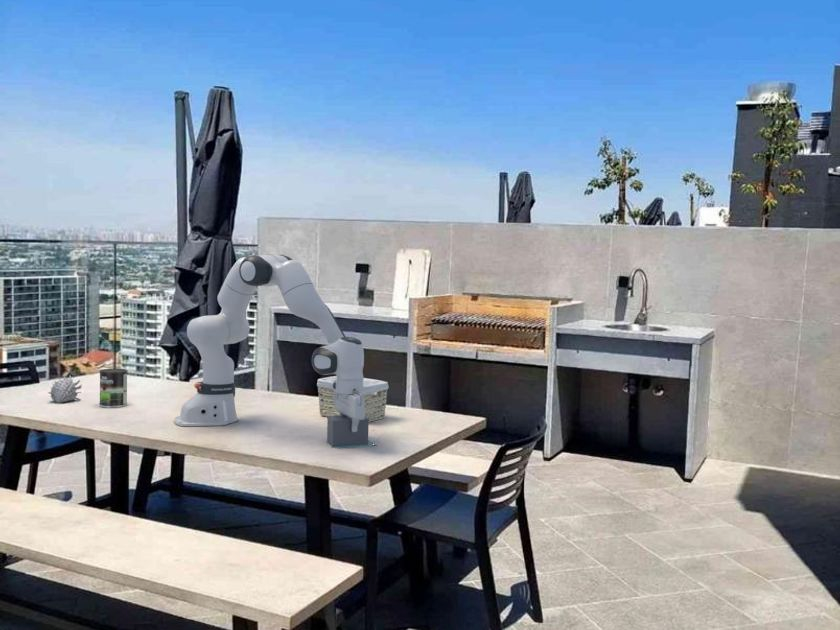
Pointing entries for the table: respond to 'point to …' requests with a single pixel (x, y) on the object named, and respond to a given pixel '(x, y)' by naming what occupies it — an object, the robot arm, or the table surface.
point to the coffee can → (113, 388)
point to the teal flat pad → (356, 445)
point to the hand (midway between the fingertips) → (348, 428)
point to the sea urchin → (64, 390)
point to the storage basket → (371, 392)
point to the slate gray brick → (346, 431)
